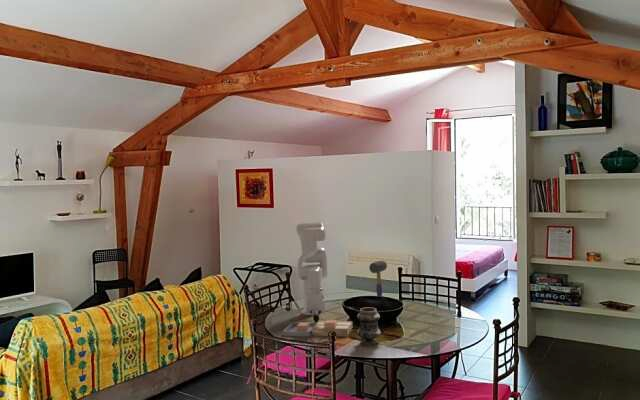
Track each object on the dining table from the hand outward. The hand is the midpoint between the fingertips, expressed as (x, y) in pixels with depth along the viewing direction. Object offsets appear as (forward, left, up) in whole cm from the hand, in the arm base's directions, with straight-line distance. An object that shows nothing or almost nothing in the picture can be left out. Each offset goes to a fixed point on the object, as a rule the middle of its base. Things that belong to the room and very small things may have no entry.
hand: (316, 321), depth 293 cm
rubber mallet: (-58, +28, -5) cm, 65 cm away
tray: (+4, -8, -5) cm, 10 cm away
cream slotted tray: (+4, +10, -5) cm, 12 cm away
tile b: (+7, +10, -1) cm, 13 cm away
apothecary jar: (+22, +34, -5) cm, 41 cm away
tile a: (+1, -8, -1) cm, 8 cm away
